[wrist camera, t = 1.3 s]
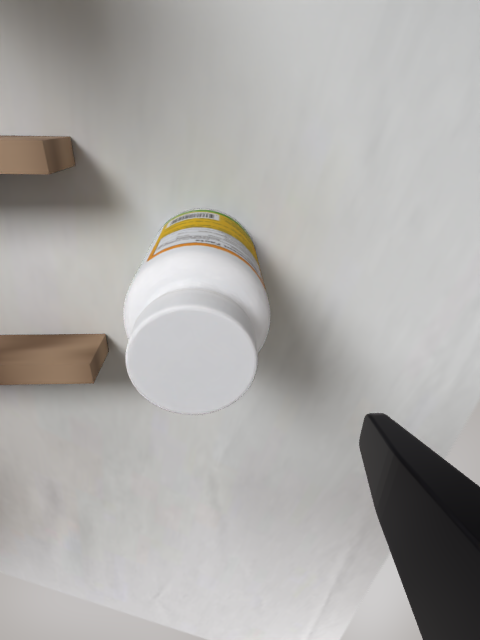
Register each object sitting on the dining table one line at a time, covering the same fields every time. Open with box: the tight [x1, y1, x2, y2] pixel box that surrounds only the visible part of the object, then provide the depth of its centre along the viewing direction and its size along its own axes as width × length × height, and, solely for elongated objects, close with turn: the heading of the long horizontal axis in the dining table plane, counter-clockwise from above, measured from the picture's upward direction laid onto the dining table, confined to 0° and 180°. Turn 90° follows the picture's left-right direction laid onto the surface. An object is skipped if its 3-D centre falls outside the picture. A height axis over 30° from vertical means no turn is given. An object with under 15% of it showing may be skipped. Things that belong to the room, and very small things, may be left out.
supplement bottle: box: [123, 209, 270, 415], centre depth 16 cm, size 5×5×10 cm
